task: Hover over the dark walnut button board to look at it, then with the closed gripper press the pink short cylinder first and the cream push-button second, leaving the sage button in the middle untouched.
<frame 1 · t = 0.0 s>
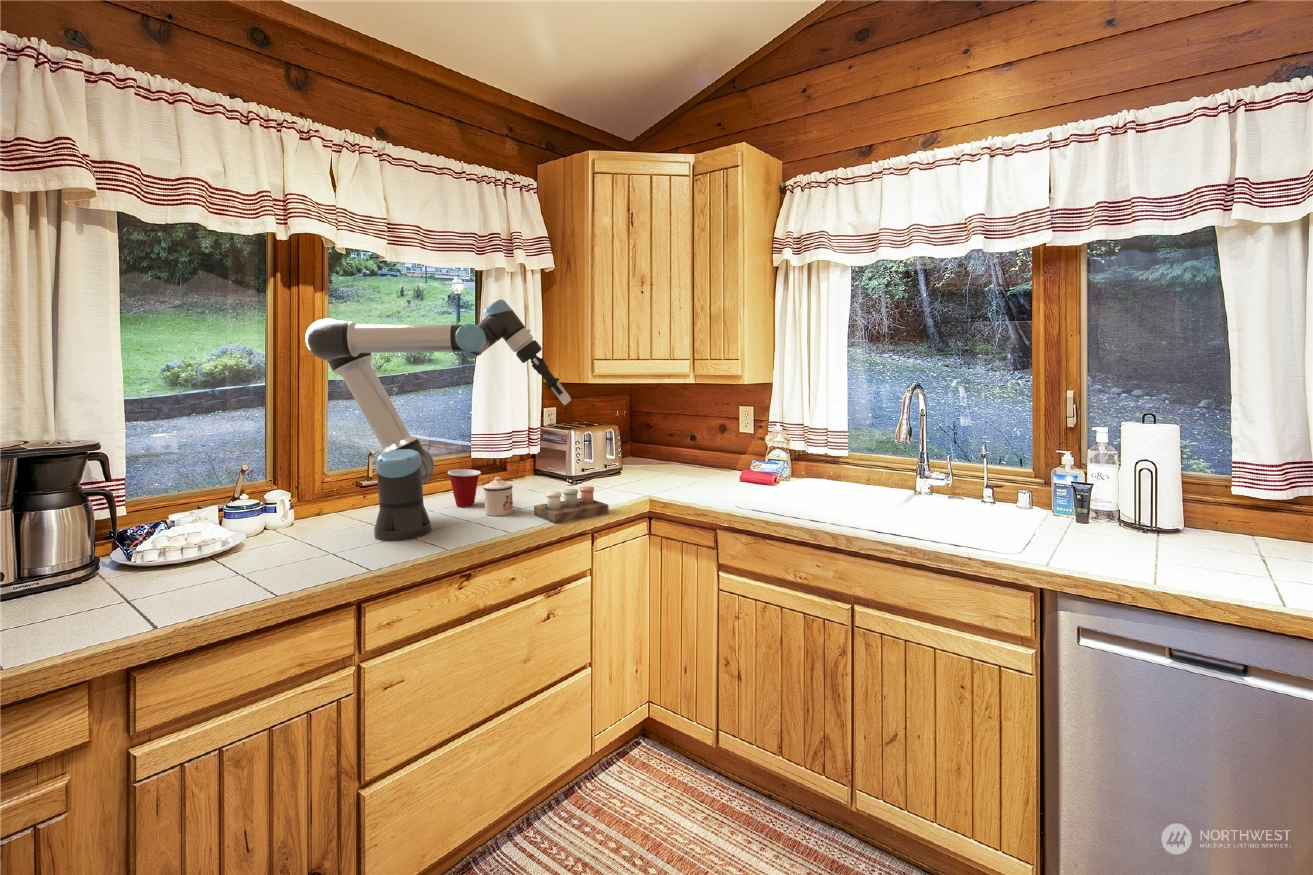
hand: (567, 401, 192), 36 cm above the worktop, tool tilted 35°, fingers open, 13 cm apart
button board: (571, 514, 196), on the worktop
plastic cup: (466, 506, 210), on the worktop
sage button: (570, 498, 195), point 5 cm above the worktop, slide at 0.0 cm
teacup with lid: (500, 512, 200), on the worktop
cream button: (553, 501, 191), point 5 cm above the worktop, slide at 0.0 cm
pink short cylinder: (587, 495, 199), point 5 cm above the worktop, slide at 0.0 cm
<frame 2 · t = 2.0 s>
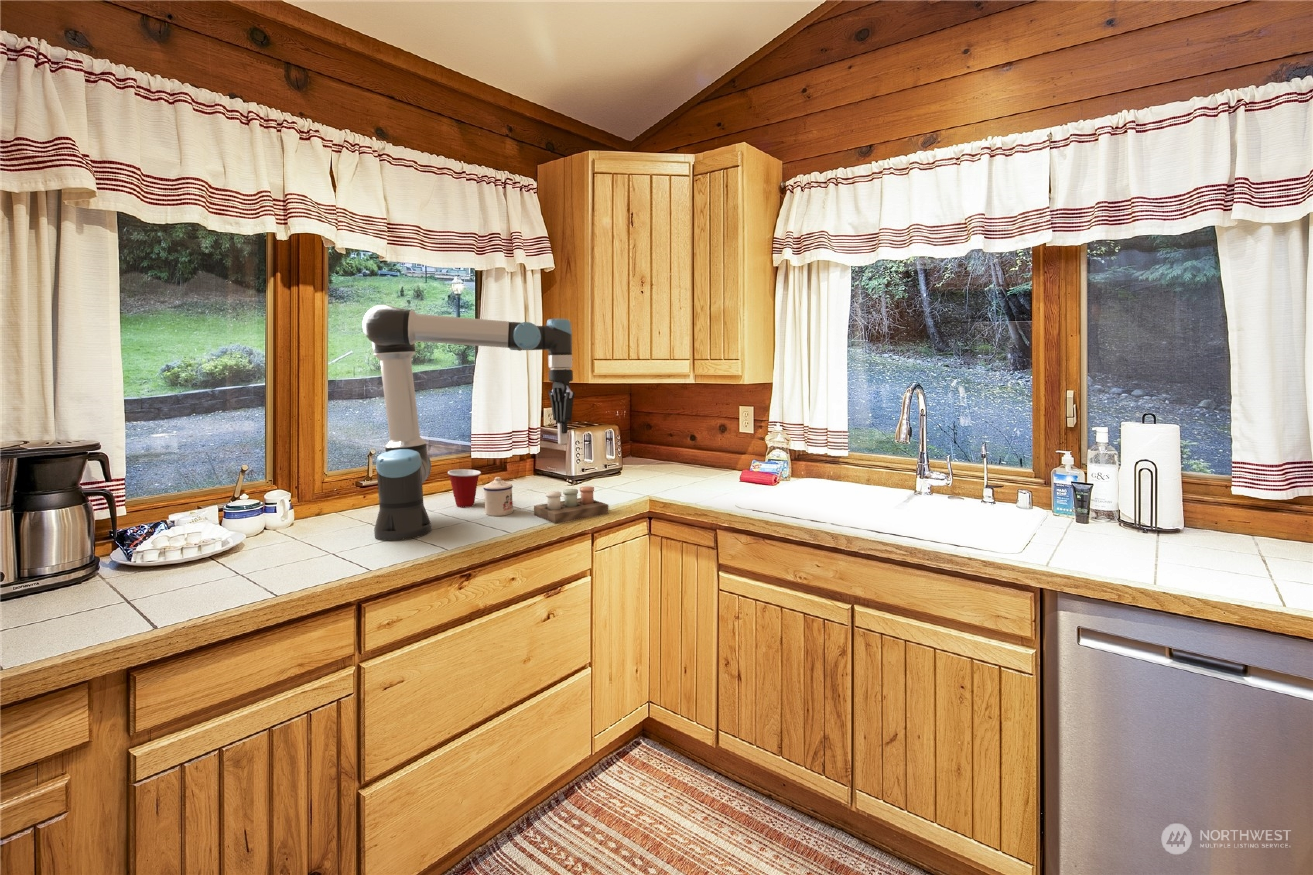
hand: (563, 443, 196), 22 cm above the worktop, tool pointing down, fingers closed
nothing on the worktop moved.
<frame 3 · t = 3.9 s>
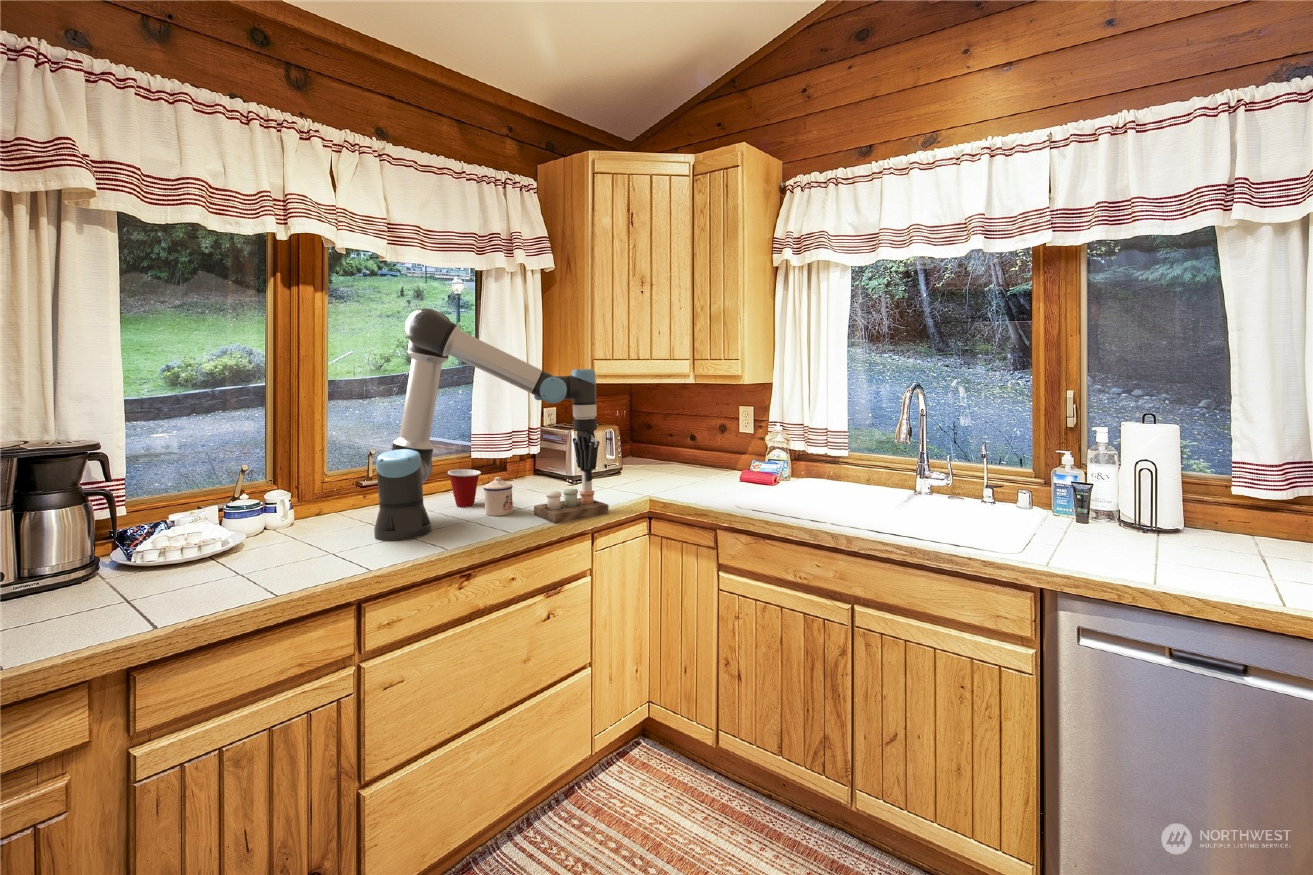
hand: (587, 490, 198), 7 cm above the worktop, tool pointing down, fingers closed
pink short cylinder: (587, 499, 199), point 4 cm above the worktop, slide at 1.2 cm, touching gripper
everything else where it was.
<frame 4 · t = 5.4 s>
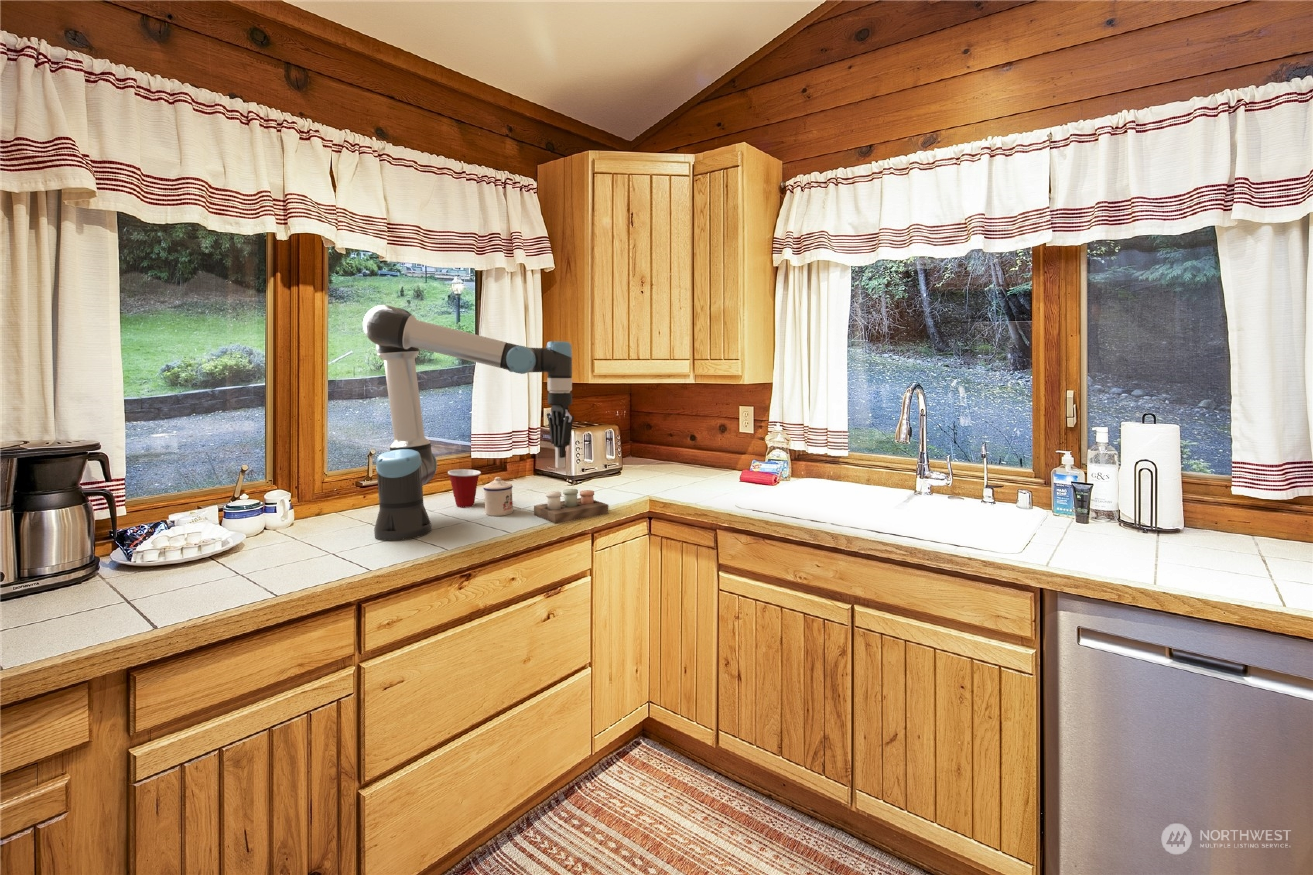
hand: (560, 467, 192), 15 cm above the worktop, tool pointing down, fingers closed
pink short cylinder: (587, 499, 199), point 4 cm above the worktop, slide at 1.3 cm
everything else where it was.
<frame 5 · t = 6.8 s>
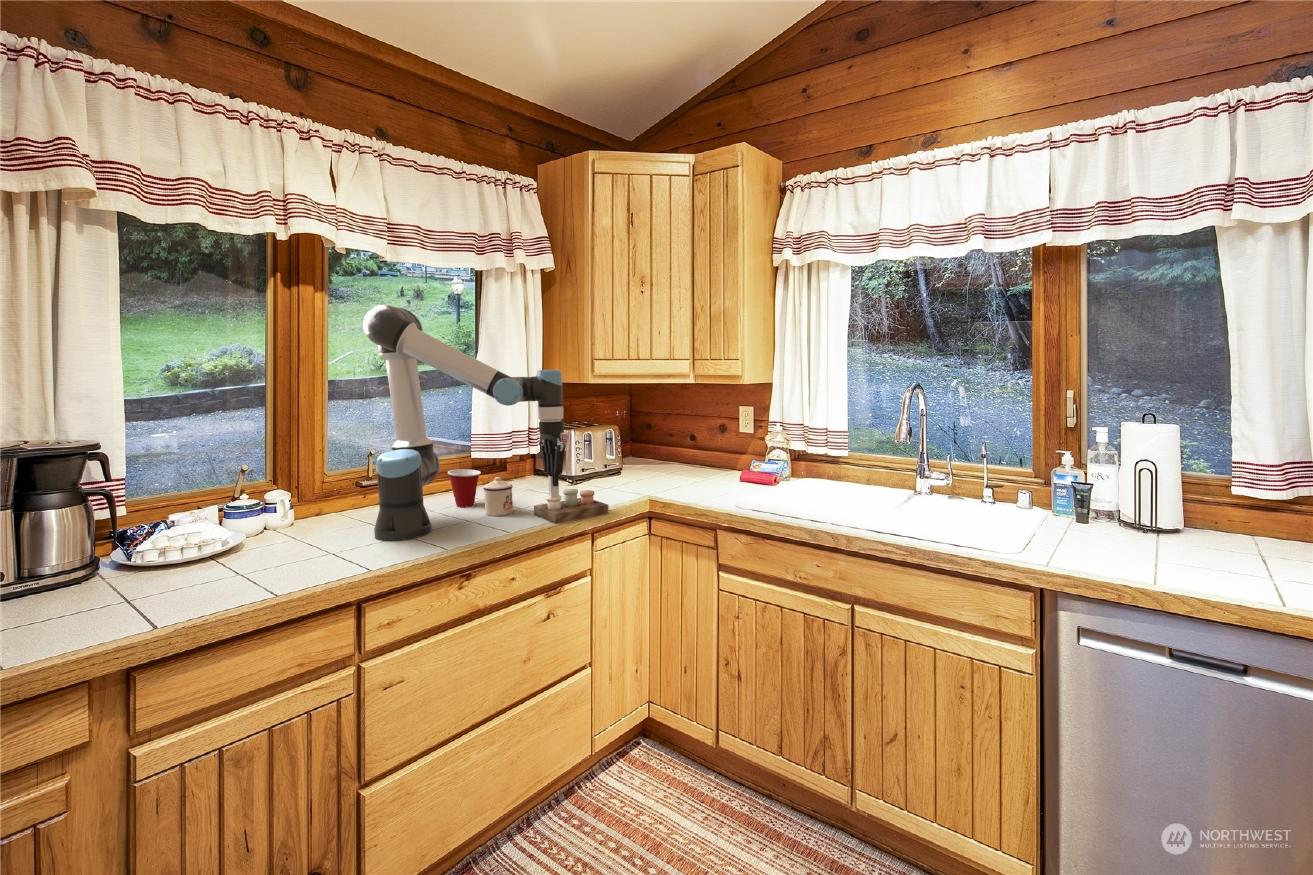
hand: (554, 495, 191), 7 cm above the worktop, tool pointing down, fingers closed
cream button: (554, 504, 192), point 4 cm above the worktop, slide at 1.2 cm
everything else where it was.
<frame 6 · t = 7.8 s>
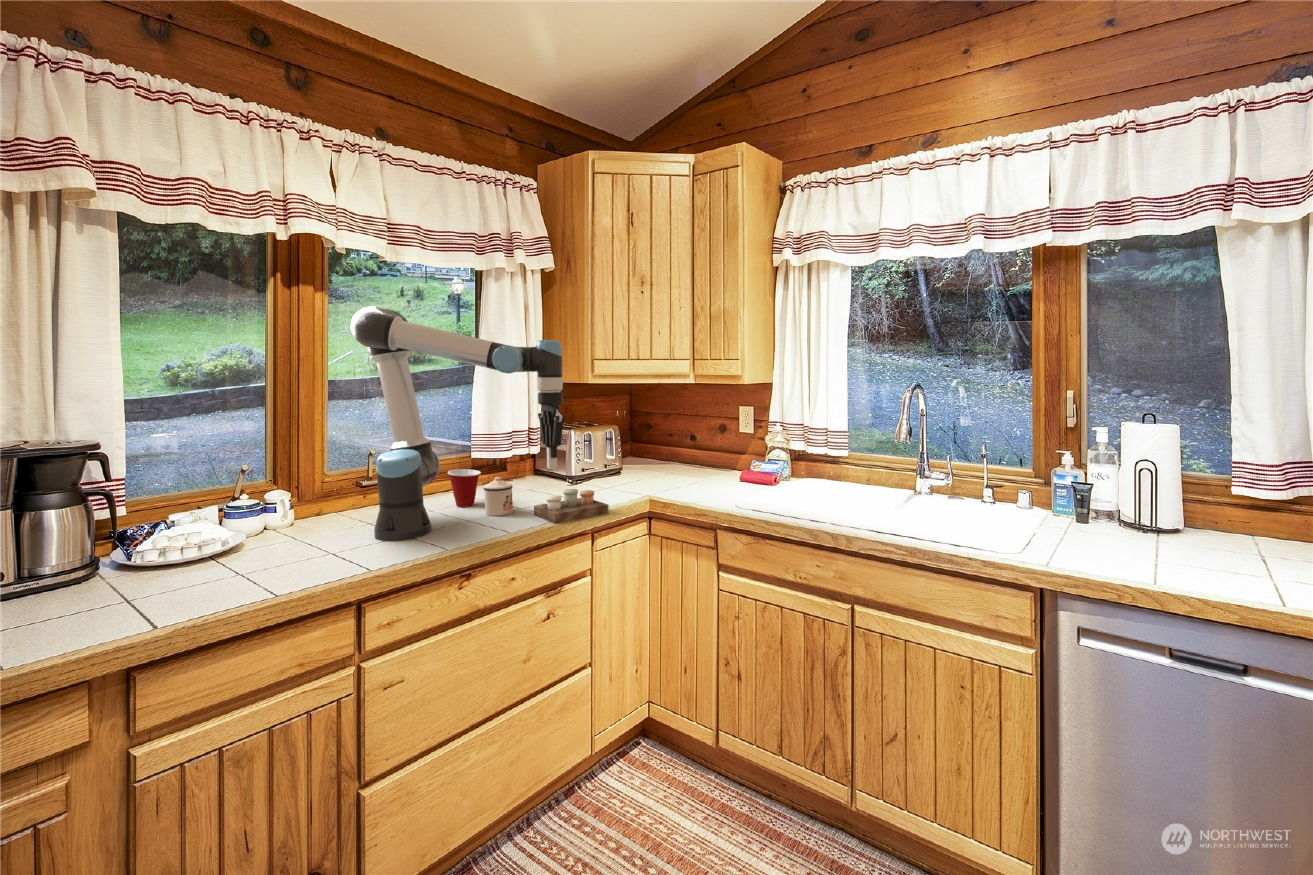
hand: (552, 467, 190), 16 cm above the worktop, tool pointing down, fingers closed
nothing on the worktop moved.
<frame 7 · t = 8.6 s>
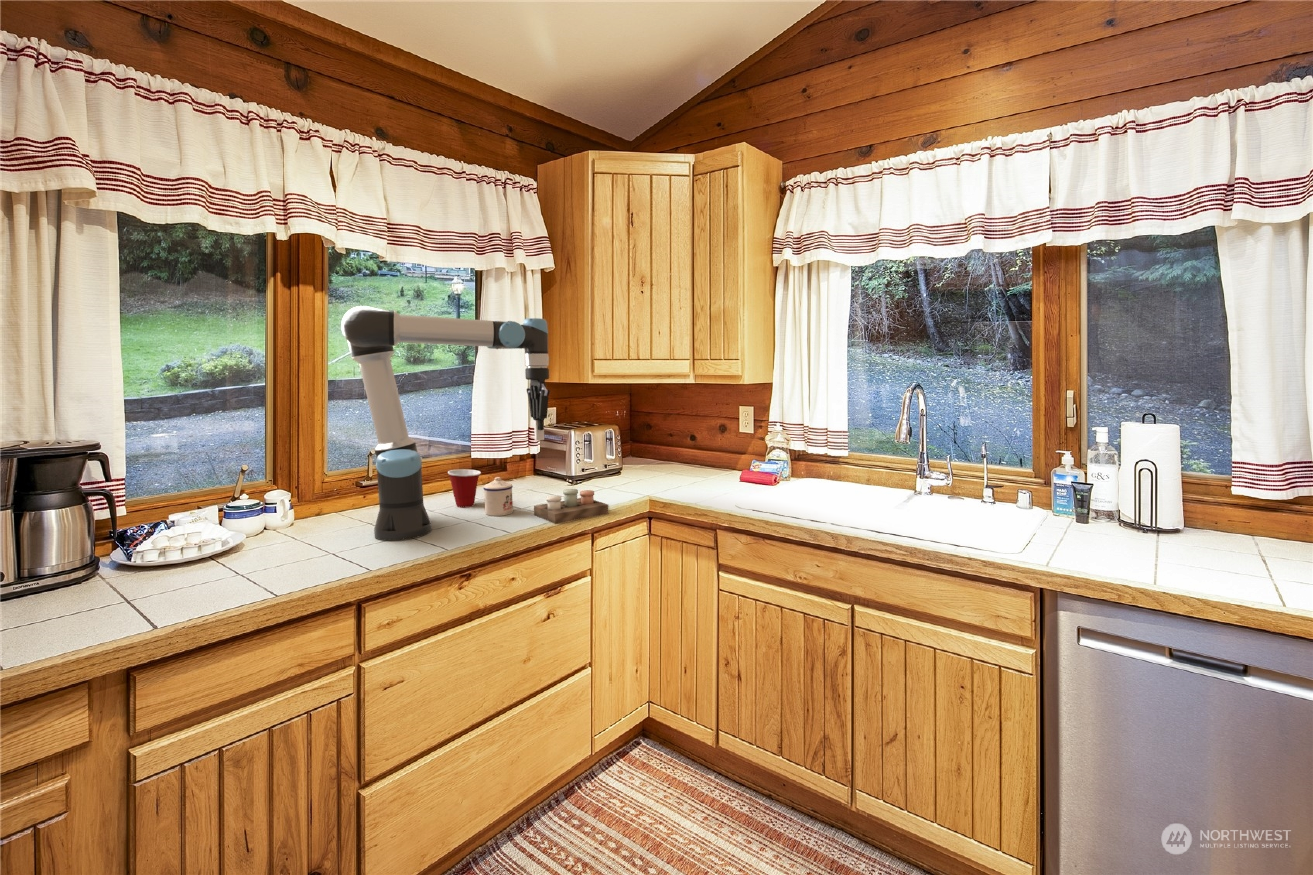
hand: (539, 439, 201), 23 cm above the worktop, tool pointing down, fingers closed
nothing on the worktop moved.
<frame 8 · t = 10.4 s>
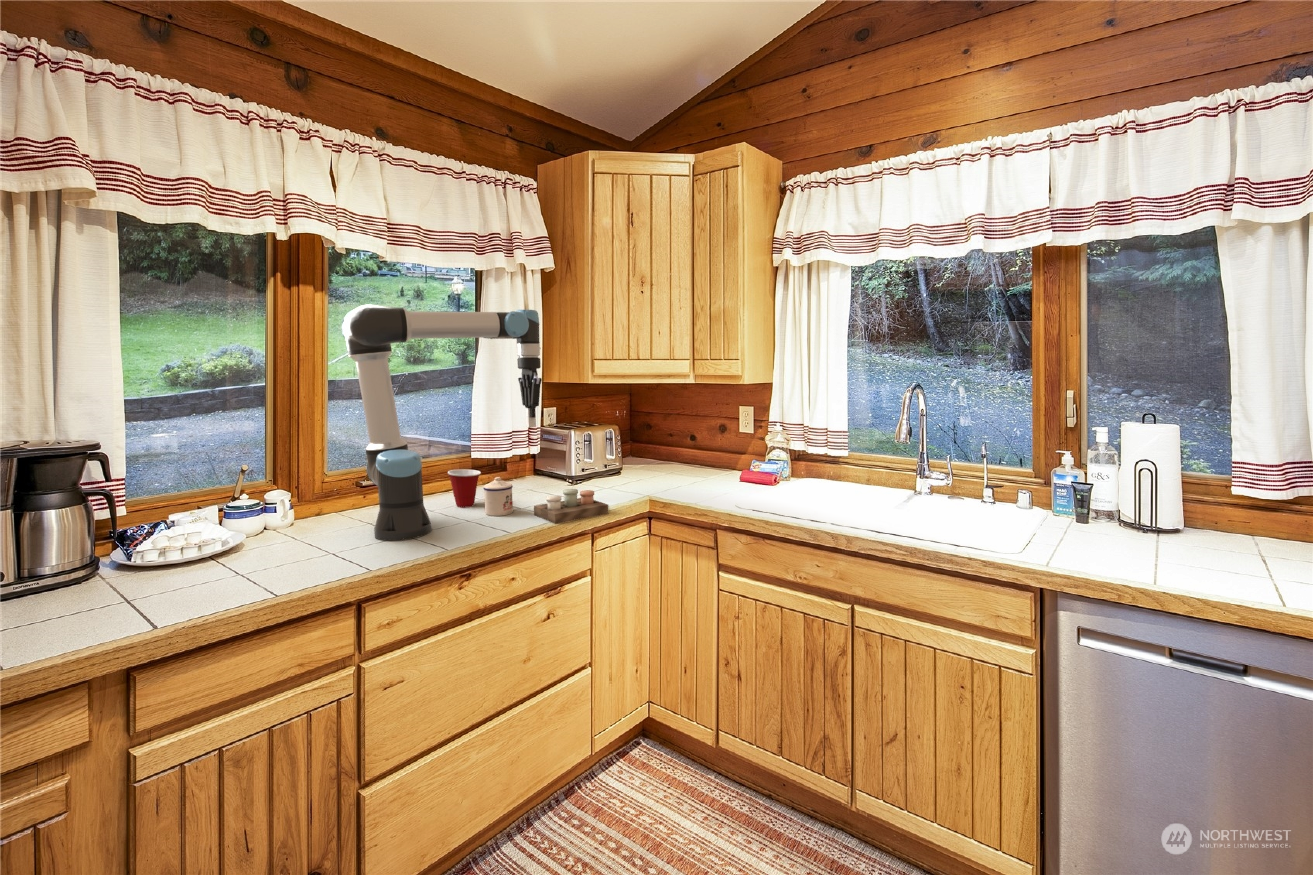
hand: (531, 427, 208), 26 cm above the worktop, tool pointing down, fingers closed
nothing on the worktop moved.
at the end: pink short cylinder slide at 1.3 cm; cream button slide at 1.3 cm; sage button slide at 0.0 cm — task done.
